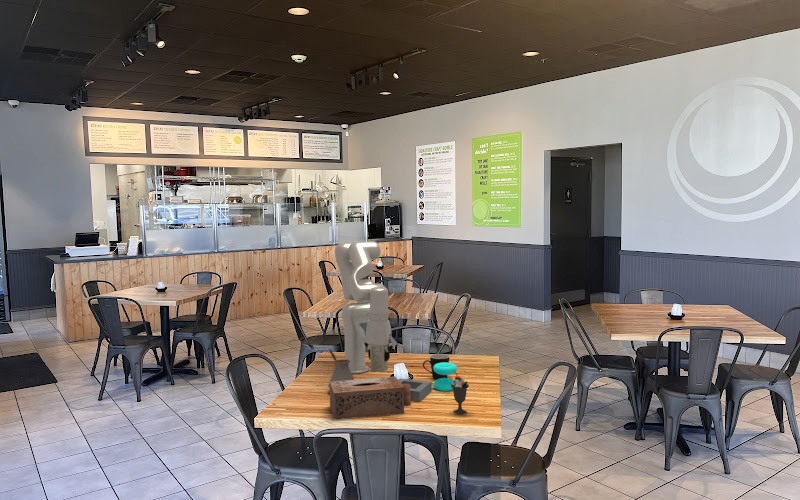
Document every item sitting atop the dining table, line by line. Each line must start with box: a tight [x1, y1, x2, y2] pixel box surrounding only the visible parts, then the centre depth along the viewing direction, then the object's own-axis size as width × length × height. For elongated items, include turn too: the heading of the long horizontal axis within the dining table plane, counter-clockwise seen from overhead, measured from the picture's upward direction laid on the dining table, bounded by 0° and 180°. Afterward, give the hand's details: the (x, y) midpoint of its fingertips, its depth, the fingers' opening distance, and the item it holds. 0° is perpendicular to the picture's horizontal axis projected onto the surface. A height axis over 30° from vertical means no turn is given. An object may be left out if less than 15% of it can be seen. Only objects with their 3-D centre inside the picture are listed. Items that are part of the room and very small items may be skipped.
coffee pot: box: [326, 348, 355, 390], centre depth 248 cm, size 21×12×15 cm, turn 26°
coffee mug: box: [422, 353, 450, 381], centre depth 261 cm, size 12×9×10 cm
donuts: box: [432, 362, 458, 392], centre depth 247 cm, size 10×10×10 cm
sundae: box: [451, 371, 470, 415], centre depth 217 cm, size 7×7×15 cm
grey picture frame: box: [398, 378, 433, 403], centre depth 239 cm, size 14×14×4 cm
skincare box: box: [369, 344, 389, 373], centre depth 244 cm, size 6×4×12 cm
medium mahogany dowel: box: [402, 384, 412, 407], centre depth 227 cm, size 4×4×8 cm
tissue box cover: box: [329, 376, 405, 420], centre depth 221 cm, size 26×14×10 cm, turn 103°
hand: (378, 359), depth 244 cm, fingers closed on skincare box, 6 cm apart
